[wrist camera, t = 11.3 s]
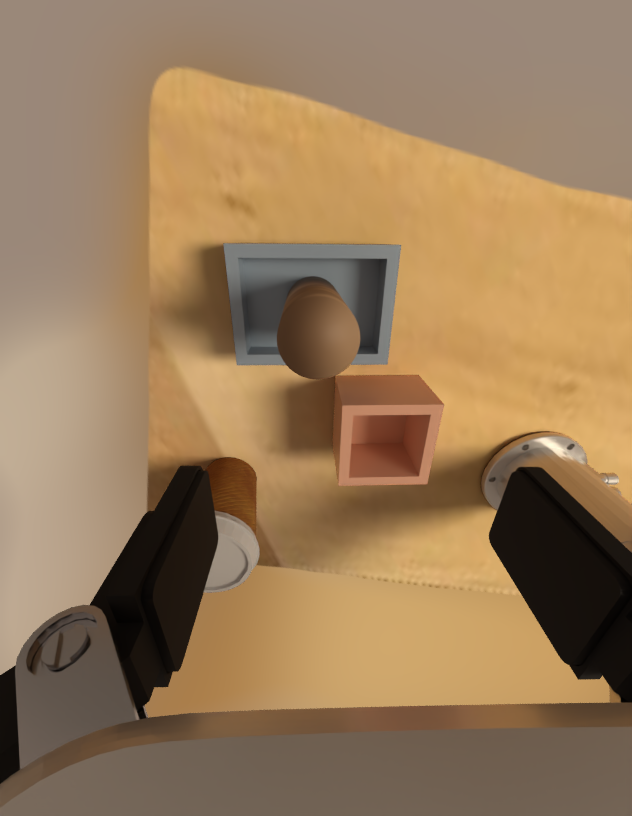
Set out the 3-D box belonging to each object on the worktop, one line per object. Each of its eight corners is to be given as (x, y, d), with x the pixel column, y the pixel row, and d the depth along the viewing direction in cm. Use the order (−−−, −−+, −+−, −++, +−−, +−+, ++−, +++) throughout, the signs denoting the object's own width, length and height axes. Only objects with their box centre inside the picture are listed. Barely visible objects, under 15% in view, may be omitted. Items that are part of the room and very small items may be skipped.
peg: (340, 276, 29) (363, 296, 18) (338, 331, 31) (357, 379, 21) (284, 275, 29) (274, 296, 18) (286, 332, 31) (278, 379, 20)
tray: (390, 244, 29) (401, 244, 26) (379, 352, 33) (387, 364, 30) (232, 243, 28) (223, 243, 25) (243, 353, 33) (236, 365, 30)
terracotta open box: (418, 375, 35) (444, 404, 28) (407, 445, 39) (427, 484, 33) (335, 375, 34) (342, 405, 28) (332, 446, 38) (338, 485, 32)
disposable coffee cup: (191, 441, 37) (147, 520, 27) (273, 451, 39) (262, 531, 28) (191, 502, 42) (153, 592, 31) (265, 509, 43) (253, 599, 32)
